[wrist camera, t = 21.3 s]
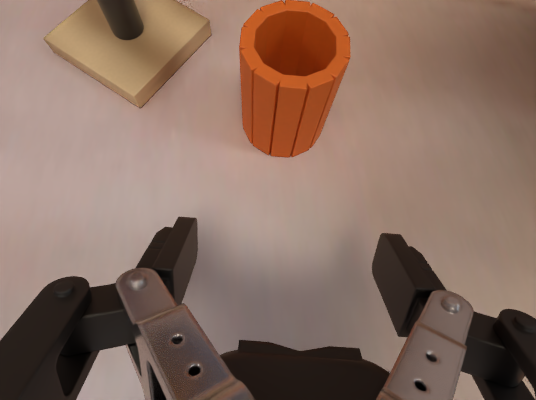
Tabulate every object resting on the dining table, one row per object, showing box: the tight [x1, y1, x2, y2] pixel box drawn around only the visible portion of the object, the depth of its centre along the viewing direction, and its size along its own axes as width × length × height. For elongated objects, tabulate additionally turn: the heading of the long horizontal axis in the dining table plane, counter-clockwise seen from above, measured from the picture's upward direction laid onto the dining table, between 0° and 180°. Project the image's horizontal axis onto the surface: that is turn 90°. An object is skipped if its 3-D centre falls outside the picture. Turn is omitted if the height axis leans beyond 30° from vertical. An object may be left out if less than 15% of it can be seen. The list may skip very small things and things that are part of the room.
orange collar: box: [239, 0, 350, 157], centre depth 21 cm, size 6×6×8 cm
